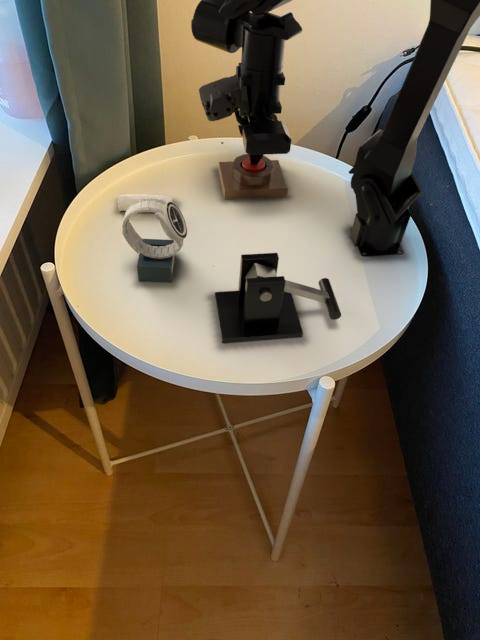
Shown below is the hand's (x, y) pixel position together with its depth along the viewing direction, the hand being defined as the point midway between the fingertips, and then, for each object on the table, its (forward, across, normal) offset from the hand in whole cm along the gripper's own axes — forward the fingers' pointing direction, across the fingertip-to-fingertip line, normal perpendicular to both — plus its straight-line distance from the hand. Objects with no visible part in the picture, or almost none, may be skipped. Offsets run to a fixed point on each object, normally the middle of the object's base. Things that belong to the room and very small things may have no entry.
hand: (253, 163), depth 86 cm
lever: (0, +29, 0) cm, 29 cm away
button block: (+4, 0, 0) cm, 4 cm away
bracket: (+4, +29, -4) cm, 30 cm away
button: (+2, 0, 0) cm, 2 cm away
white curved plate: (+4, +5, -17) cm, 18 cm away
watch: (+4, +19, -16) cm, 25 cm away
